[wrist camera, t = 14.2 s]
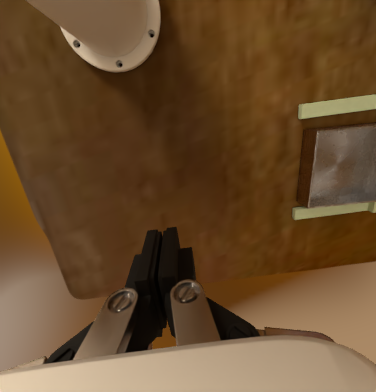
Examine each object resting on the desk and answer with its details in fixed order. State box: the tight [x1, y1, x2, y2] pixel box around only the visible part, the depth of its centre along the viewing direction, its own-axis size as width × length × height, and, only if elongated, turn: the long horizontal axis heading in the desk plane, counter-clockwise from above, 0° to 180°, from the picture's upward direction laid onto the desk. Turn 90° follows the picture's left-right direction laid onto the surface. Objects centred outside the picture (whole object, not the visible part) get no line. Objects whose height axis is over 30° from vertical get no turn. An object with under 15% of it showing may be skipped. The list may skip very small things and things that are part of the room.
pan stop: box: [292, 94, 376, 220], centre depth 34 cm, size 19×15×2 cm
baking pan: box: [296, 122, 376, 209], centre depth 33 cm, size 12×12×4 cm
